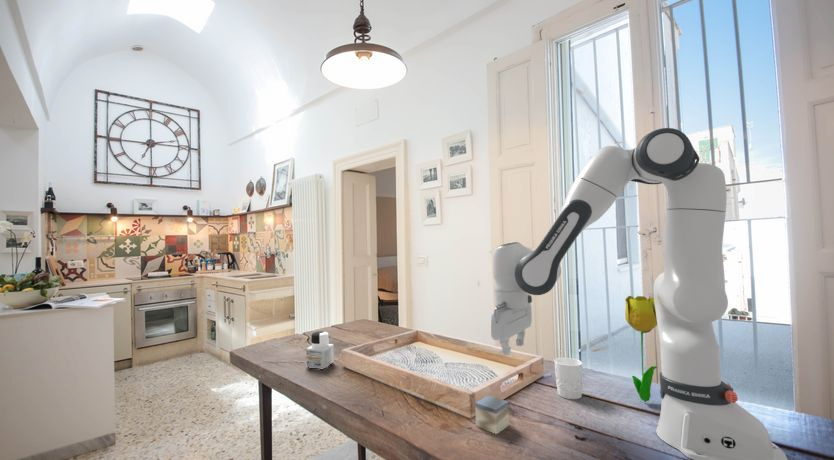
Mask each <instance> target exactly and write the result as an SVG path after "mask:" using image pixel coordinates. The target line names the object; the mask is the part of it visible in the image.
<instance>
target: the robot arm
mask: <svg viewBox="0 0 834 460" xmlns="http://www.w3.org/2000/svg"><path fill="white" fill-rule="evenodd" d="M630 182H634V183H640V184H645V185H660V184H663V185H664V187H665V188H666V191H667V202H666V203H667V204H666V210H665V218H664V228H663V229H664V230H663V238H662V247H663V267H664V268H663V272H661V273H660V274H659V275H658V276H657V277H656V278H655V280H654V283H653V285H652V289H653V298H654V302H655V310H656V318H657V331H658V337H659V346H660V347H659V348H660V349H659V350H660V352H659V353H660V363H661V364H660V367H661V371H660V372H659V377H658V384H659V385H658V386H659V387H658V388H659V394H660V398H661V406H660V414H659V419H658V423H657V427H656V429H655V430H656V431H655V432H656V434H657V436H658V437H659V438H660V439H661V440H662V441H663V442H665V443H666V444H668V445H669V446H671V447H672V448H675V449H676V450H678V451H680V453H682V454H683V455H684V456H686V457H687V458H689V459H691V460H788V458H787V456H786V454H785V452H784V450H783V449H781V448H780V447H779V446H778V445H776V444H775V443H773V441H772V439H771V435H770V433H769V431H768V430H767V428H766V426H765V425H764V423H763V422H762V421H761V420H760V419H759V418H757V417H756V416H754V415H753V414H752V413H750V412H749V411H748V410H746V409H745V408H744V407H742V406H741V405H739V404H738V403H737V402H738V398H739V397H738V395H737V393H736V392H735V391H734V388H733V387H731V384H730V383H729V382H728V383H725V382H724V381H722V378H721V376H722V375H721V361H720V360H721V359H720V346H719V342H718V341H717V338H716V337H717V336H716V335H715V334H716V333H715V330H714V326H713V322H715V321H717V320H720V318H722V317H723V316H724V314H725V313H726V312H727V309H728V306H729V303H728V302H729V299H728V295H727V292H726V285H725V283H726V281H725V279H726V278H725V267H724V259H723V258H724V257H723V243H724V242H723V241H724V232H725V221H726V215H727V214H726V212H727V199H728V198H727V183H726V176H725V173H724V171H723V170H722V169H721V168H720V167H718V166H717V165H713V164H710V163H704V162H703V163H702V162H700V157H699V155H698V153H697V151H696V150H695V148H694V146H693V144H692V142H691V140H690V139H689V137H688V136H687V135H686V134H685V133H684V132H683V131H681V130H679V129H676V128H672V127H663V128H662V127H661V128H658V129H655V130H653V131H650V132H649V133H647V134H645V135H644V136H643V137H642V138H641V139H640V140H639V142H638V144H637V145H636V147H635V148H631V149H624V148H622V147H621V146H616V145H605V146H603V147H601V148H600V149H598V150H597V152H595V154H593V156H592V157H590V159H589V160H588V161H587V162H586V164H585V165H584V167H582V168H581V170H580V171H579V173H578V174H577V176H576V178H575V179H574V181H573V182H572V184H571V185H570V188H569V190H568V192H567V193H566V196H565V199H564V202H563V203H562V207H561V209H560V212H559V213H558V216H557V218H556V220H555V221H554V223H553V224H552V226H551V227H550V228H549V230H548V231H547V233H546V235H545V236H544V237H543V239H542V240H541V242H540V244H538V246H537V247H536V248H535V249H531V248H529V247H527V246H525V245H523V244H522V243H520V242H518V241H516V242H508V243H504V244H501V245H498V246H497V247H495V249H494V250H493V253H492V254H493V255H492V274H493V279H494V288H493V293H494V306H495V308H494V309H493V311H492V312H491V318H490V319H491V320H490V335H491V339H493V340H494V341H499V344H500V347H501V349H502V350H501V351H502V354H503V355H505V356H509V355H510V354H511V351H512V349H511V346H510V344H509V342H510V339H511V337H514V336H516V339H515V343H516V346H517V347H522V346H524V344H525V336H526V329H529V328H530V327H531V325H532V320H533V319H532V302H533V296H543V295H545V294H548V292H550V291H552V289H553V288H554V286H555V284H556V283H557V281H558V280H559V279H560V276H561V273H562V271H561V270H562V268H561V266H560V264H561V262H562V260H563V258H564V257H565V255H566V254H567V252H568V251H569V249H570V248H571V247H572V246H573V243H574V242H575V241H576V239H577V238H578V236H579V235H580V234H582V232H583V231H585V229H586V228H588V227H589V226H590V225H592V224H594V223H595V222H597V221H599V219H601V218H602V217H603V216H604V214H605V213H606V212H608V211H609V209H610V208H611V207H612V206H613V205H614V204H615V202H616V200H617V198H618V197H619V196H620V194H621V193H622V191H623V190H624V188H625V187H626V186H627V185H628V184H629V183H630Z"/></svg>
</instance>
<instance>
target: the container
mask: <svg viewBox="0 0 834 460" xmlns="http://www.w3.org/2000/svg"><path fill="white" fill-rule="evenodd" d="M329 336H330V335H329V332H327V331H324V330H323V331H316V332H313V333H311V345H310V346H308V347H307V348H305V349H306V350H305V351H306V358H305V359H306V368H307V367H309V368H325V367H327V366H328V365H330V364H331V363H332V362H334V363H335V353H334V352H335V349H334V343H330V339H329ZM309 368H308V369H309ZM327 368H328V367H327Z"/></svg>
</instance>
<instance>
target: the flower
mask: <svg viewBox="0 0 834 460" xmlns="http://www.w3.org/2000/svg"><path fill="white" fill-rule="evenodd" d="M624 310H625V311H624V313H625V315H624V316H625V320H626V323H627V324H628V325H629V326H630V327H631V328H633V329H634V330H635V331H636V332H640V343H641V344H640V348H641V353H640V354H641V376H642V377H641V379H640V378H638V377H637V376H635V375H632V376H631V378H632V380H633V384H634V387H635V389H636V392H637V393H638V395H639V396H638V397H640V400H642V401H644V402H646V403H647V402H649V401H650V399H651V389H652V384H653V383H652V381H653V376H654V371H655V370H656V369H658V366H656V365H654V366H651V367H649V368H648V369H647V370H645V372H644V351H643V350H644V346H643V345H644V334H646V333H650V332H651V331H652V330H653V329H654V328H655V327H658V325H657V318H656V310H655V302H654V297H649V298H647V297H645V296H644V295H643V296H641V295H637V296H636V297H634V296H633V295H628V296H627V297H626V298H625V309H624Z"/></svg>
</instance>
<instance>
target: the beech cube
mask: <svg viewBox="0 0 834 460" xmlns="http://www.w3.org/2000/svg"><path fill="white" fill-rule="evenodd" d="M474 406H475V408H474V409H475V426H476V425H477V426H478V427H477V428H479V427H481V428H483V429H482V430H484V429H485V430H484V431H486V430H487V432H489V431H490V433H491V432H492V433H491V434H494V433H495V434H494V435H496V434H497V433H498V434H499V433H500V431H501V432H502V431H503V430H505V429H506V428H507V427H508V426H510V411H509V409H510V408H509V401H507V400H505V399H501V398H498V397H494V396H491V395H485V397H483V398H481V399H480V400H478V401H476V402H475V403H474ZM481 428H480V429H481ZM498 434H497V435H498Z"/></svg>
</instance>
